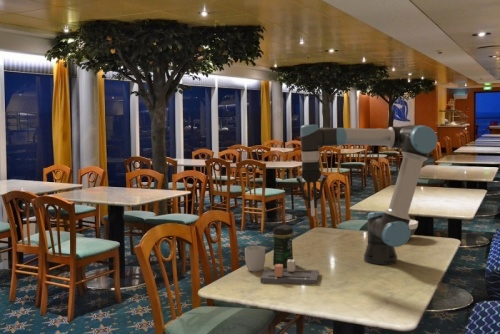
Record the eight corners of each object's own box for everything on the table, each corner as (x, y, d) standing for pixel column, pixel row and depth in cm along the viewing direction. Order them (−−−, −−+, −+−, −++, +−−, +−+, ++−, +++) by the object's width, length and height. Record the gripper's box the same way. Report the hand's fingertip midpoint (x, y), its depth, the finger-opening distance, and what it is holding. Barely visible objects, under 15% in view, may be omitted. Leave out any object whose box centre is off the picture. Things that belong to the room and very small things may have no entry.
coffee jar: (285, 269, 247) (285, 228, 245) (270, 266, 251) (269, 226, 250) (296, 263, 255) (295, 224, 253) (281, 261, 259) (280, 222, 258)
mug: (259, 273, 241) (259, 251, 240) (241, 271, 245) (241, 249, 244) (272, 266, 252) (271, 244, 251) (255, 264, 256) (254, 243, 255)
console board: (318, 274, 237) (318, 269, 237) (316, 284, 223) (316, 279, 222) (266, 272, 242) (265, 267, 241) (260, 283, 227) (260, 277, 227)
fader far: (295, 269, 237) (295, 259, 237) (294, 271, 234) (294, 261, 233) (288, 268, 238) (288, 259, 238) (287, 271, 234) (286, 261, 234)
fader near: (283, 274, 230) (282, 263, 230) (281, 276, 227) (281, 266, 226) (276, 273, 231) (275, 263, 231) (274, 276, 227) (274, 266, 227)
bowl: (375, 235, 310) (375, 219, 309) (409, 234, 312) (409, 217, 311) (388, 243, 290) (388, 225, 290) (423, 241, 293) (424, 224, 292)
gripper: (326, 159, 237) (328, 213, 239) (296, 160, 239) (298, 214, 242) (325, 161, 230) (328, 217, 232) (294, 162, 232) (297, 217, 234)
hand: (313, 215), depth 237 cm, fingers closed
